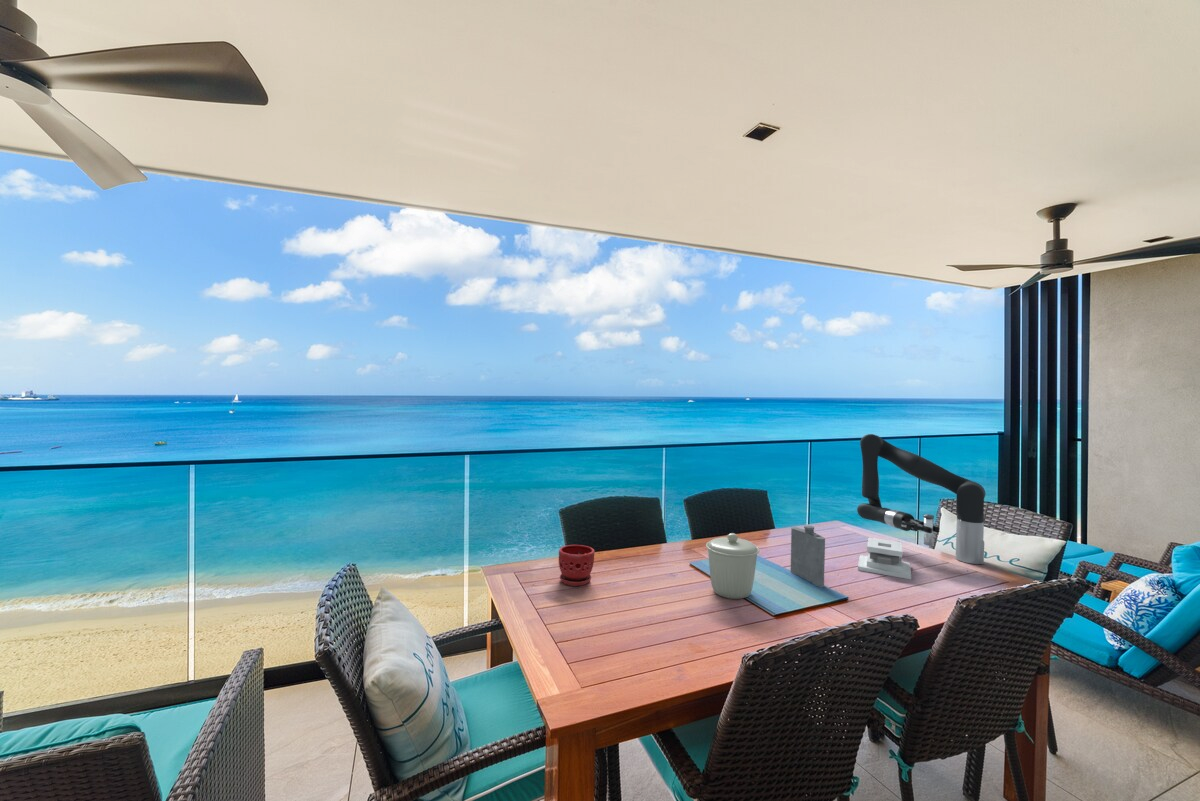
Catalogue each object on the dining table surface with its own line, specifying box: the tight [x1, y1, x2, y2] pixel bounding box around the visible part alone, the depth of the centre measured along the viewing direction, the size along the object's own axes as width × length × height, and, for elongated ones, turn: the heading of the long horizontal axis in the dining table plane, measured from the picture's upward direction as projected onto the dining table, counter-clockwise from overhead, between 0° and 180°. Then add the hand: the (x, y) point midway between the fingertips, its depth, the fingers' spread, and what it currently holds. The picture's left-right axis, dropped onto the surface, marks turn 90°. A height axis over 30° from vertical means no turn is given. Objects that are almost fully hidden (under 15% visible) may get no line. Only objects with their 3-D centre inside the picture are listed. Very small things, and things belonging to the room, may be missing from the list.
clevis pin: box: [922, 513, 935, 547], centre depth 201 cm, size 4×4×12 cm
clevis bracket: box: [857, 537, 912, 580], centre depth 198 cm, size 18×17×10 cm
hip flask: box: [789, 524, 826, 588], centre depth 187 cm, size 16×4×20 cm, turn 20°
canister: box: [705, 532, 760, 600], centre depth 172 cm, size 18×18×21 cm
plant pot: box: [558, 544, 595, 587], centre depth 182 cm, size 13×13×12 cm
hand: (934, 530), depth 198 cm, fingers closed on clevis pin, 3 cm apart
